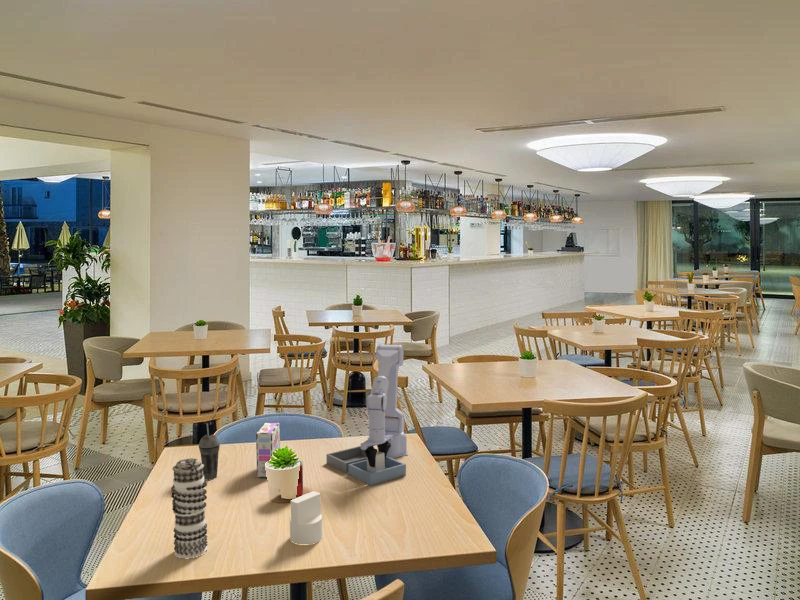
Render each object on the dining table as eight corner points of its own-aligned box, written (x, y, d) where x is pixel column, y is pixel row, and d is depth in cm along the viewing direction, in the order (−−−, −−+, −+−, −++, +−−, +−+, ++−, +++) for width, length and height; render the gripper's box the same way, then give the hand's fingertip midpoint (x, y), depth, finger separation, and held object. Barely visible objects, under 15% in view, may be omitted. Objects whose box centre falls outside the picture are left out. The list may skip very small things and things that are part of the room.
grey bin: (361, 455, 249) (361, 445, 248) (381, 464, 239) (381, 454, 238) (326, 464, 239) (326, 454, 238) (346, 474, 229) (345, 463, 228)
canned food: (274, 497, 208) (273, 464, 207) (289, 489, 215) (288, 457, 214) (292, 501, 204) (292, 468, 203) (307, 493, 211) (307, 461, 210)
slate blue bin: (383, 465, 237) (383, 455, 237) (405, 475, 227) (405, 464, 227) (348, 475, 227) (348, 464, 227) (369, 485, 217) (369, 474, 217)
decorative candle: (212, 543, 176) (210, 455, 174) (203, 559, 167) (200, 467, 164) (179, 543, 176) (176, 455, 173) (168, 560, 166) (165, 467, 164)
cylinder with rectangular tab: (307, 528, 185) (306, 488, 184) (329, 537, 179) (328, 496, 178) (283, 539, 178) (282, 497, 177) (305, 549, 172) (304, 506, 171)
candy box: (272, 478, 225) (271, 432, 223) (256, 478, 225) (255, 432, 224) (281, 464, 239) (280, 422, 237) (265, 464, 239) (264, 422, 237)
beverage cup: (224, 473, 229) (222, 419, 228) (216, 481, 222) (214, 425, 220) (204, 473, 230) (202, 419, 228) (196, 480, 223) (194, 425, 221)
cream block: (376, 466, 231) (375, 450, 230) (384, 469, 228) (384, 452, 227) (367, 470, 227) (366, 453, 227) (376, 472, 224) (375, 455, 224)
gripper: (382, 421, 234) (383, 457, 235) (354, 429, 223) (354, 467, 224) (396, 424, 229) (397, 461, 230) (368, 433, 218) (368, 471, 220)
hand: (377, 464), depth 227 cm, fingers closed on cream block, 4 cm apart
